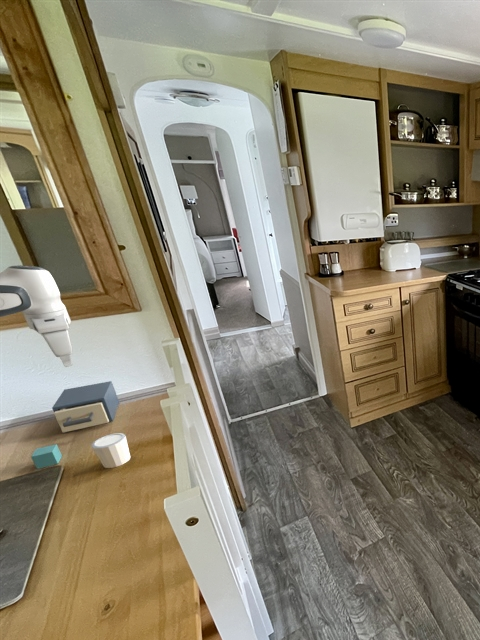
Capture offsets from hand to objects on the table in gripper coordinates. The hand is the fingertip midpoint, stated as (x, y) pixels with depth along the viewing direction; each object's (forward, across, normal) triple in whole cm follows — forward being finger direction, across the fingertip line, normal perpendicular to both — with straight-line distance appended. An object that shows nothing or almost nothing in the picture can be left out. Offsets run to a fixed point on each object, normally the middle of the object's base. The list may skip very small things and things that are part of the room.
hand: (66, 361), depth 118 cm
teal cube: (+19, +26, -11) cm, 34 cm away
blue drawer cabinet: (+19, +4, +1) cm, 19 cm away
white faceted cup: (+19, +39, +1) cm, 43 cm away
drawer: (+18, +9, -1) cm, 20 cm away
